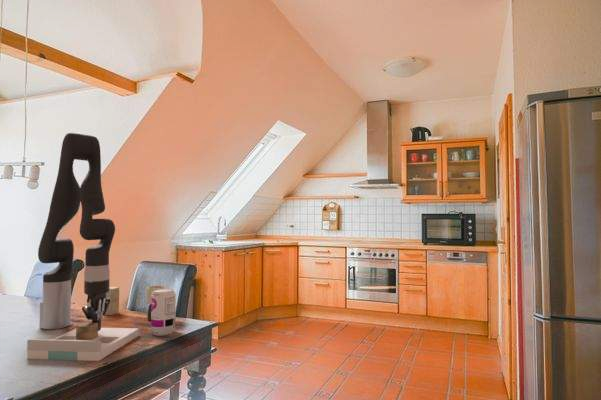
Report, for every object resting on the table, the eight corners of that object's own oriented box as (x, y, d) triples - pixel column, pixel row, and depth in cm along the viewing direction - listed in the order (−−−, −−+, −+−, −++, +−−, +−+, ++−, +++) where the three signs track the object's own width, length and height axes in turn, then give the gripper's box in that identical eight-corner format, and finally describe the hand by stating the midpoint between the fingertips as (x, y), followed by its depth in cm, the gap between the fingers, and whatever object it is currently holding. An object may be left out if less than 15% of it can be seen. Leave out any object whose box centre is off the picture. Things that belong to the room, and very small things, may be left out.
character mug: (169, 320, 160) (170, 287, 160) (152, 323, 155) (152, 289, 155) (158, 315, 168) (158, 284, 168) (141, 318, 163) (141, 286, 163)
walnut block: (75, 340, 126) (76, 326, 126) (84, 336, 130) (84, 322, 131) (89, 340, 126) (89, 326, 126) (97, 336, 130) (98, 322, 130)
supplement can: (151, 337, 137) (152, 293, 138) (150, 331, 145) (150, 289, 145) (176, 334, 141) (176, 291, 141) (173, 328, 148) (174, 287, 149)
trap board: (27, 358, 117) (27, 339, 117) (79, 334, 141) (79, 318, 141) (98, 360, 115) (98, 341, 116) (138, 335, 139) (139, 319, 139)
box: (111, 315, 167) (111, 288, 168) (102, 315, 168) (102, 288, 169) (119, 312, 173) (119, 286, 173) (110, 312, 173) (111, 286, 174)
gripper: (97, 275, 140) (97, 325, 140) (73, 281, 127) (72, 336, 126) (118, 275, 140) (117, 325, 139) (96, 282, 126) (95, 337, 126)
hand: (96, 330), depth 133 cm, fingers closed
